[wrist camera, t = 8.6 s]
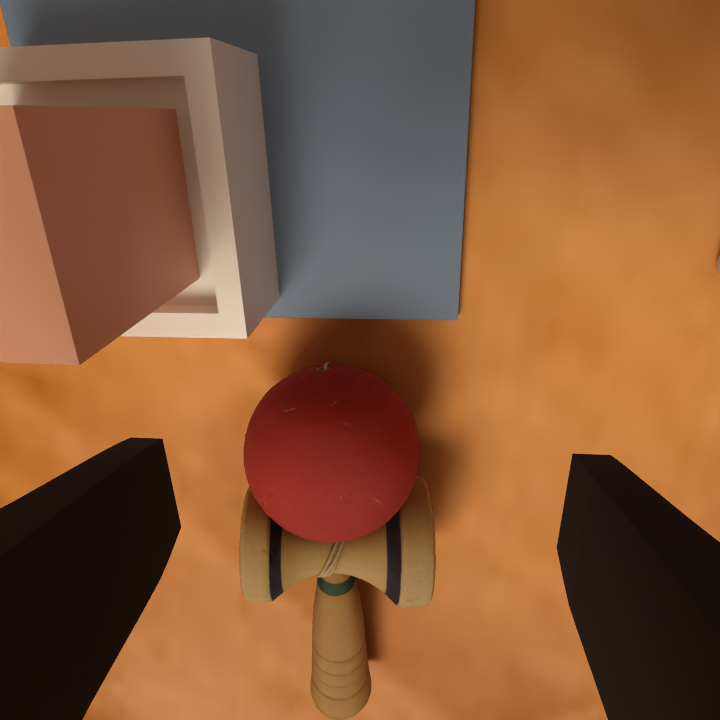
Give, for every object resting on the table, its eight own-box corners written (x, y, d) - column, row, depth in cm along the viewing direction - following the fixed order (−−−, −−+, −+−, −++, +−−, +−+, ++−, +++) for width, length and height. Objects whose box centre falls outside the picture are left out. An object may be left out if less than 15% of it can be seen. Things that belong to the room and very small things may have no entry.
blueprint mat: (496, -414, 12) (498, -430, 11) (457, 316, 19) (457, 320, 18) (-78, -335, 13) (-92, -347, 13) (86, 310, 20) (80, 314, 20)
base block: (257, 54, 16) (209, 37, 12) (279, 297, 19) (247, 338, 15) (23, 64, 16) (-83, 50, 13) (82, 295, 20) (9, 333, 16)
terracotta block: (175, 108, 14) (12, 104, 8) (199, 278, 16) (79, 365, 10) (14, 111, 14) (-239, 108, 9) (57, 275, 16) (-130, 356, 11)
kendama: (436, 641, 28) (469, 349, 18) (410, 781, 23) (436, 480, 13) (299, 603, 30) (261, 321, 20) (247, 724, 25) (163, 425, 15)
